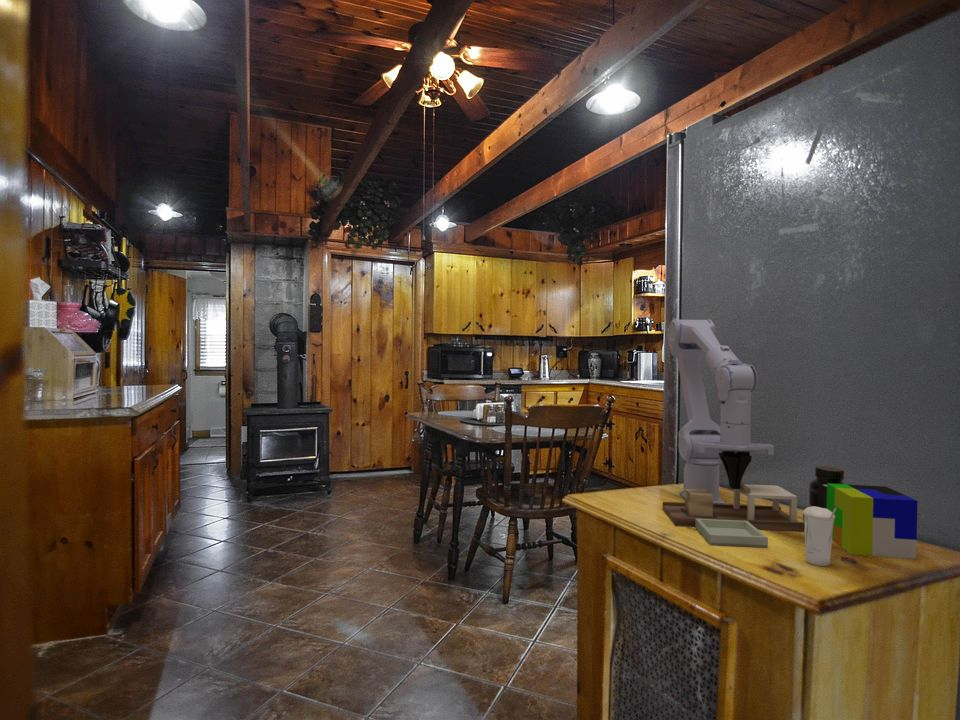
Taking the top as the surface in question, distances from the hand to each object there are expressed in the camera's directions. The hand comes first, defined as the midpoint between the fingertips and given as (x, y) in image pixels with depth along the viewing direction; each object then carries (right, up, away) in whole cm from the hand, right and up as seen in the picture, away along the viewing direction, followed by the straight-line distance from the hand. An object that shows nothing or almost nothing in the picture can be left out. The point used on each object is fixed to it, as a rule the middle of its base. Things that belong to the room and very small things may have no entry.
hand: (734, 488), depth 113 cm
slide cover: (+6, -5, -1) cm, 8 cm away
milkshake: (+3, -7, -23) cm, 25 cm away
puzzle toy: (+17, -7, -15) cm, 24 cm away
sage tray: (-6, -7, -11) cm, 14 cm away
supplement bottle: (+16, -7, -5) cm, 18 cm away
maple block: (-7, -5, +1) cm, 9 cm away
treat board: (-1, -7, 0) cm, 7 cm away
